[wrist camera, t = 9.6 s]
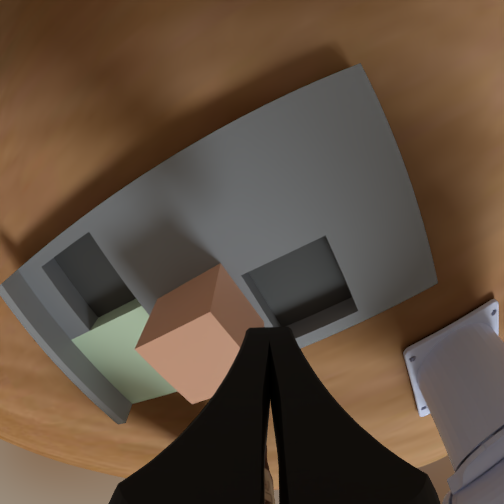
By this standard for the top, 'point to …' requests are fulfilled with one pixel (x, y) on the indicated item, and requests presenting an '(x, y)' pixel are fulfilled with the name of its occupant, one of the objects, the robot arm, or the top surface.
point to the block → (198, 333)
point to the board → (235, 238)
